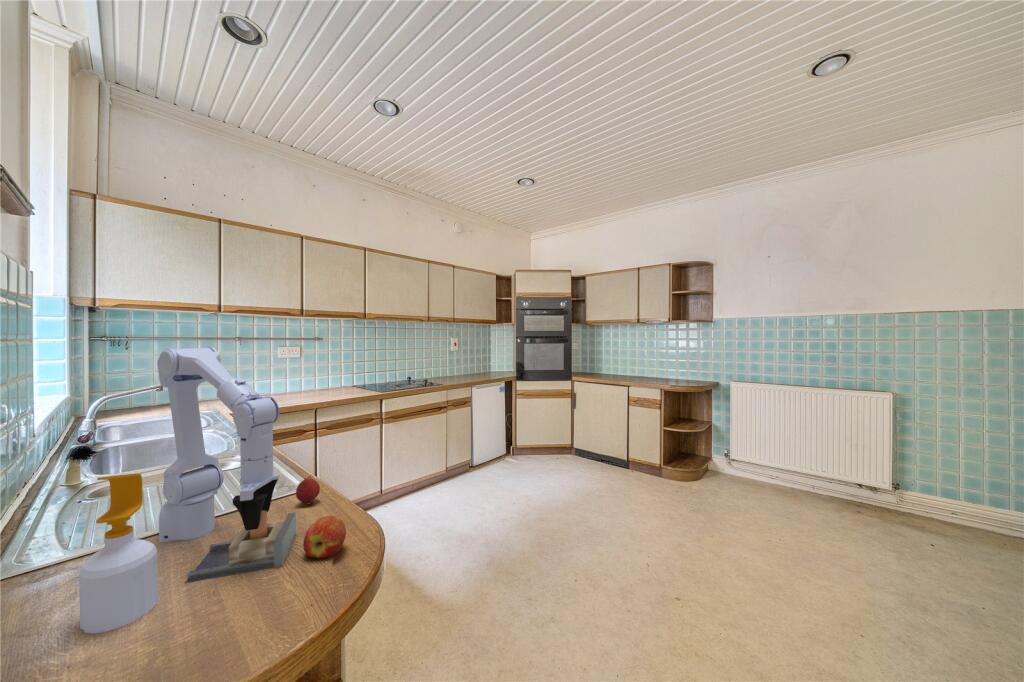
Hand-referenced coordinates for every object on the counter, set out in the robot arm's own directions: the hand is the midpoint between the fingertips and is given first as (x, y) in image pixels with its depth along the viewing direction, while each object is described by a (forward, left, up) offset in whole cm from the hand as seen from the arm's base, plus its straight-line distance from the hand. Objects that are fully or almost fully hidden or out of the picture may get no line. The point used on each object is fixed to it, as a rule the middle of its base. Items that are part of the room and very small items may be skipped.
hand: (257, 520), depth 81 cm
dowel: (0, 0, -6) cm, 6 cm away
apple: (+13, -3, -8) cm, 16 cm away
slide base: (-2, 0, -8) cm, 8 cm away
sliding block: (0, 0, -7) cm, 7 cm away
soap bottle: (-17, -12, -8) cm, 22 cm away
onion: (+5, +25, -8) cm, 27 cm away
